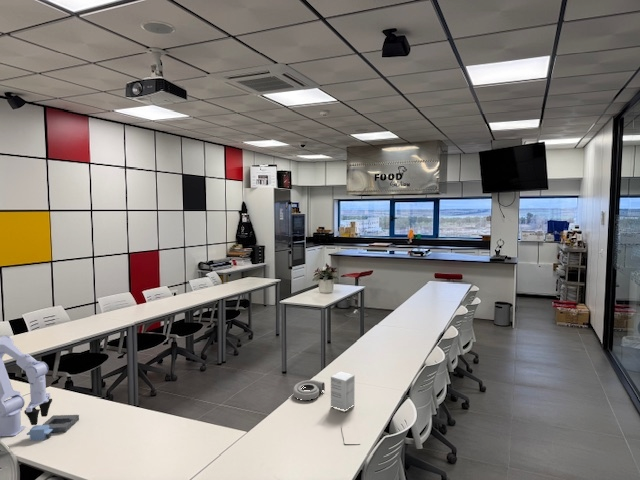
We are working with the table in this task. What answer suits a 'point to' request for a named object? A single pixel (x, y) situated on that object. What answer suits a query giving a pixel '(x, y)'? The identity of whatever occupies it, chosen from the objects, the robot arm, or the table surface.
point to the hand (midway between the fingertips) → (39, 420)
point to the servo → (39, 432)
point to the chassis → (61, 423)
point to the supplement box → (342, 390)
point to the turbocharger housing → (310, 385)
